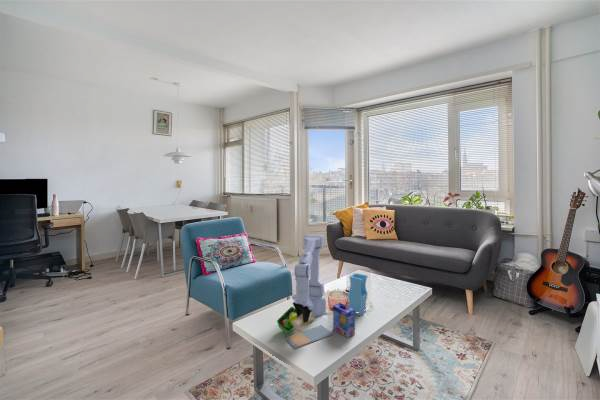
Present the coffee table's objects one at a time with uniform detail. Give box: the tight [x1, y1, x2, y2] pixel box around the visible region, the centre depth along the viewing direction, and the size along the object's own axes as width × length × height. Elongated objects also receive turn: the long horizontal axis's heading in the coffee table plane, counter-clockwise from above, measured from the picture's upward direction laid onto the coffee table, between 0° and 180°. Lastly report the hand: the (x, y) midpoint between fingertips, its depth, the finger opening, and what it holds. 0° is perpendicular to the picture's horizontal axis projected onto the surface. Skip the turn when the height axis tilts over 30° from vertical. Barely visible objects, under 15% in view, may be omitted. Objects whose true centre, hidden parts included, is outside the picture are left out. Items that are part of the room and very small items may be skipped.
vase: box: [347, 272, 368, 316], centre depth 162 cm, size 8×8×20 cm
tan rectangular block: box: [292, 313, 316, 333], centre depth 133 cm, size 9×4×4 cm, turn 122°
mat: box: [284, 324, 334, 350], centre depth 137 cm, size 21×10×1 cm, turn 122°
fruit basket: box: [276, 306, 297, 334], centre depth 140 cm, size 11×9×11 cm
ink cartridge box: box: [332, 302, 356, 338], centre depth 141 cm, size 10×6×14 cm, turn 38°
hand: (302, 319), depth 133 cm, fingers closed on tan rectangular block, 4 cm apart
